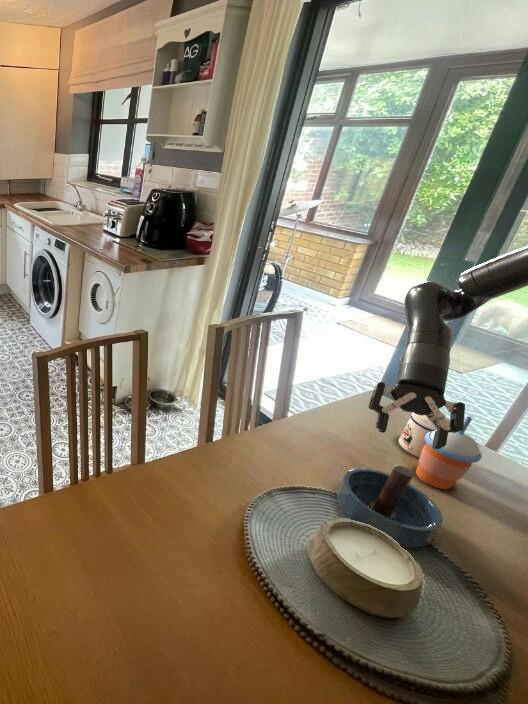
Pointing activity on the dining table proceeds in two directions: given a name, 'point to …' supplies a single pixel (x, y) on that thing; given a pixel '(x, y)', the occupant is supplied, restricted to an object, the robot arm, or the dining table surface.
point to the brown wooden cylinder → (392, 492)
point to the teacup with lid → (417, 433)
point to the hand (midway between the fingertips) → (408, 439)
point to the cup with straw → (448, 458)
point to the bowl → (411, 512)
